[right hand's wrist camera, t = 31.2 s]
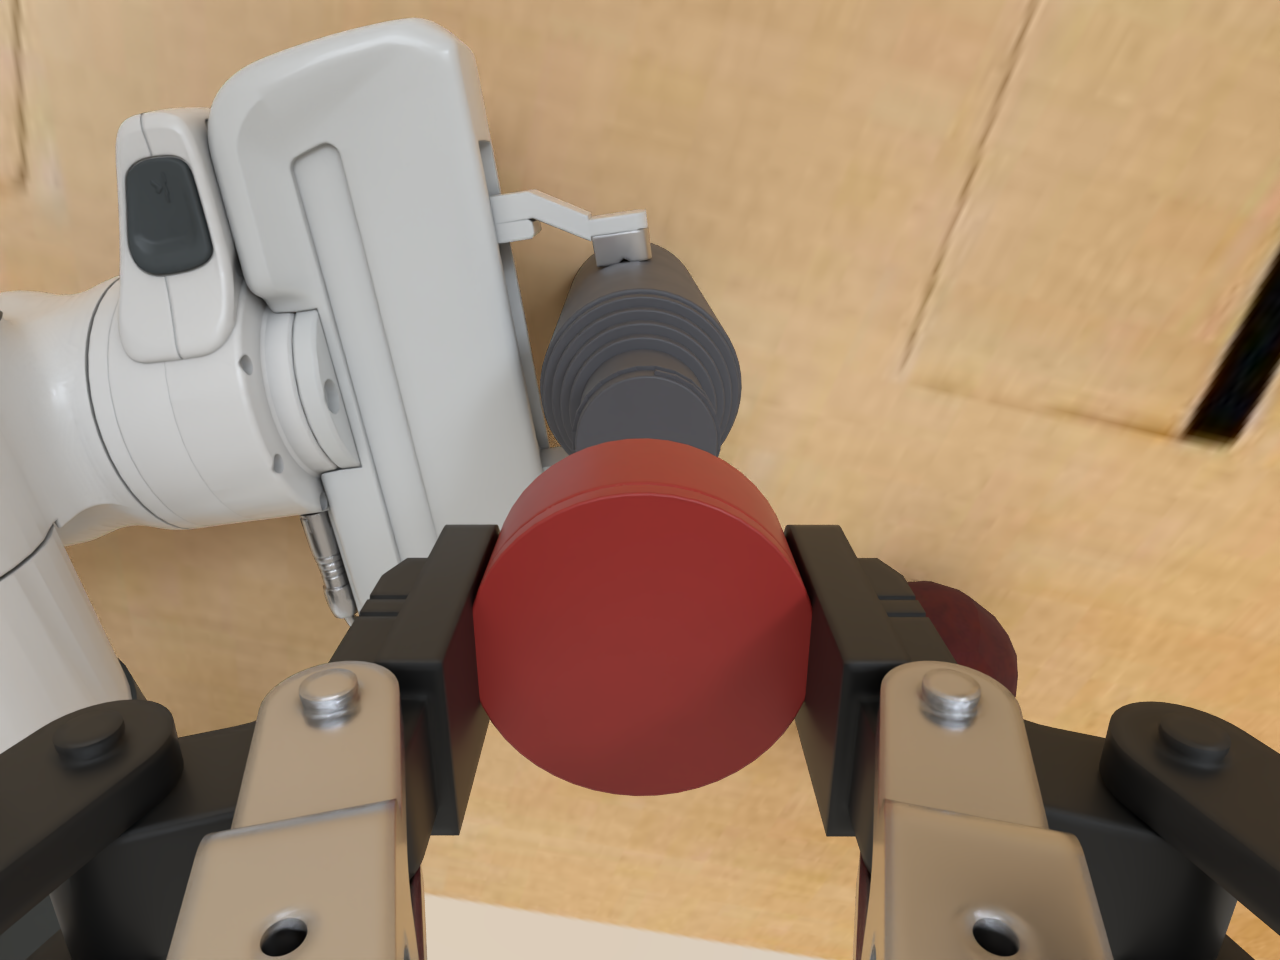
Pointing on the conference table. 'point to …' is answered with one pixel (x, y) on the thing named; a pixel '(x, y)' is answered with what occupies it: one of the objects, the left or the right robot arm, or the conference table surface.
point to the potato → (969, 632)
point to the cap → (642, 621)
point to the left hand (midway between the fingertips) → (662, 333)
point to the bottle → (639, 359)
